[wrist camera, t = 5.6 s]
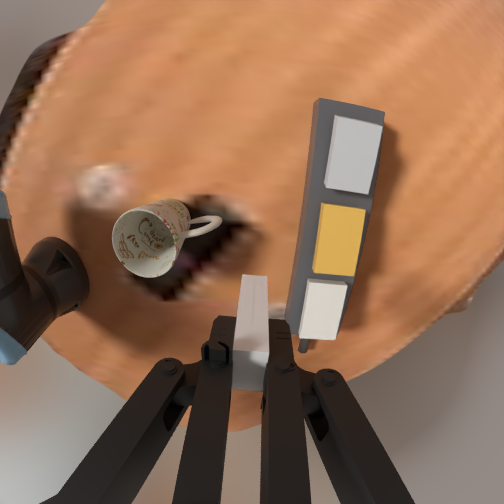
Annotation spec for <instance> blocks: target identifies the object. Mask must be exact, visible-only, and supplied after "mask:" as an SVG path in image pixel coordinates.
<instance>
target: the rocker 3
mask: <svg viewBox="0 0 504 504" xmlns="http://www.w3.org/2000/svg"><path fill="white" fill-rule="evenodd" d="M346 290H347V284H346V283H345V282H344V281H332V280H321V279H310V278H308V281H307V287H306V293H305V299H304V305H303V311H302V316H301V322H300V327H299V337H300V338H305V339H323V340H335V338H336V334H337V330H338V326H339V322H340V318H341V314H342V309H343V305H344V300H345V295H346Z"/></svg>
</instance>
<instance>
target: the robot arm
mask: <svg viewBox="0 0 504 504" xmlns="http://www.w3.org/2000/svg"><path fill="white" fill-rule="evenodd" d="M11 219H12V216H11V215H10V212H9V207H8V202H7V197H6V195H5V193H4V192H3V191H2V190H0V362H2V363H4V364H6V365H14V364H16V363H17V362H18V361H19V360H20V359H21V358H22V357H23V356H24V355H25V354H27V351H28V350H29V349H30V348H31V347H32V345H33V344H34V343H35V342H36V341H37V339H38V338H39V337H40V336H41V335H42V334H43V332H44V331H45V330H46V329H47V328H48V327H49V326H50V324H51V323H52V322H53V321H54V320H55V319H56V318H58V317H60V316H62V315H65V314H67V313H69V312H72V311H74V310H76V309H77V308H79V307H80V306H81V305H82V304H83V303H84V301H85V300H86V299H87V296H88V293H89V281H88V277H87V273H86V270H85V268H84V266H83V264H82V262H81V260H80V258H79V257H78V255H77V254H76V253H75V251H74V250H73V249H72V248H71V247H70V246H69V245H68V244H67V243H65V242H64V241H62V240H60V239H58V238H55V237H47V238H44V239H42V240H41V241H39V242H38V243H36V244H35V245H34V246H33V248H32V249H31V251H30V252H29V254H28V255H27V256H26V258H25V259H24V261H23V263H22V264H21V260H20V257H19V253H18V249H17V245H16V241H15V236H14V231H13V226H12V221H11ZM201 353H202V360H200V361H198V362H196V363H192V364H184V365H183V364H182V362H181V361H179V360H177V359H175V358H164V359H162V360H160V361H158V362H157V363H156V364H155V366H154V367H153V368H152V369H151V371H150V372H149V373H148V375H147V376H146V377H145V379H144V380H143V381H142V383H141V384H140V385H139V386H138V388H137V389H136V390H135V392H134V393H133V394H132V396H131V397H130V398H129V400H128V401H127V402H126V403H125V405H124V406H123V407H122V409H121V410H120V412H119V413H118V414H117V415H116V417H115V418H114V419H113V421H112V422H111V424H110V425H109V426H108V427H107V429H106V430H105V431H104V433H103V434H102V435H101V436H100V438H99V439H98V440H97V442H96V443H95V444H94V446H93V447H92V448H91V450H90V451H89V452H88V454H87V455H86V456H85V458H84V459H83V460H82V462H81V463H80V464H79V466H78V467H77V469H76V470H75V471H74V473H73V474H72V475H71V476H70V478H69V479H68V480H67V482H66V483H65V484H64V486H63V487H62V489H61V490H60V491H59V493H58V494H57V495H55V496H53V497H51V498H49V499H48V500H46V501H44V502H42V503H40V504H131V503H132V502H133V500H134V499H135V497H136V495H137V494H138V492H139V490H140V488H141V487H142V485H143V484H144V482H145V480H146V479H147V477H148V475H149V474H150V472H151V470H152V469H153V467H154V465H155V464H156V462H157V460H158V459H159V457H160V455H161V453H162V452H163V450H164V448H165V446H166V445H167V443H168V441H169V440H170V438H171V436H172V435H173V433H174V431H175V429H176V427H177V426H178V424H179V422H180V421H181V419H182V417H183V416H184V414H185V412H186V410H187V409H188V407H189V406H190V405H192V408H191V412H190V417H189V422H188V426H187V431H186V436H185V441H184V445H183V451H182V455H181V460H180V465H179V470H178V475H177V480H176V485H175V491H174V496H173V501H172V504H220V502H221V491H222V481H223V471H224V461H225V450H226V441H227V431H228V422H229V412H230V402H231V389H238V390H251V391H263V397H262V403H261V408H260V409H262V428H261V429H262V431H261V479H260V480H261V481H260V483H261V484H260V504H311V493H310V480H309V468H308V458H307V457H308V456H307V446H306V437H305V425H304V419H305V421H306V424H307V426H308V428H309V431H310V433H311V435H312V438H313V440H314V443H315V445H316V447H317V450H318V452H319V454H320V457H321V459H322V462H323V464H324V466H325V469H326V471H327V473H328V476H329V478H330V480H331V483H332V485H333V487H334V489H335V492H336V494H337V496H338V499H339V501H340V503H341V504H415V503H414V501H413V499H412V498H411V495H410V494H409V492H408V490H407V488H406V486H405V485H404V483H403V481H402V479H401V477H400V476H399V474H398V472H397V470H396V468H395V467H394V465H393V463H392V461H391V460H390V458H389V456H388V454H387V452H386V451H385V449H384V447H383V445H382V444H381V442H380V441H379V438H378V437H377V435H376V433H375V432H374V430H373V428H372V426H371V424H370V423H369V421H368V419H367V418H366V416H365V414H364V412H363V411H362V409H361V407H360V405H359V404H358V402H357V400H356V399H355V397H354V395H353V394H352V392H351V390H350V388H349V387H348V385H347V383H346V382H345V380H344V378H343V376H342V375H341V374H340V373H339V372H337V371H335V370H333V369H322V370H319V371H318V372H317V373H316V374H315V373H311V372H308V371H305V370H303V369H301V368H299V367H298V366H297V364H296V363H295V361H294V355H293V347H292V340H291V331H290V326H289V324H288V323H287V322H286V320H279V319H268V293H267V276H257V275H244V274H242V281H241V289H240V296H239V304H238V312H237V317H231V316H220V315H219V316H218V317H217V318H216V319H215V320H214V322H213V326H212V330H211V335H210V339H209V341H207V342H205V343H204V344H203V345H202V347H201Z"/></svg>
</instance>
